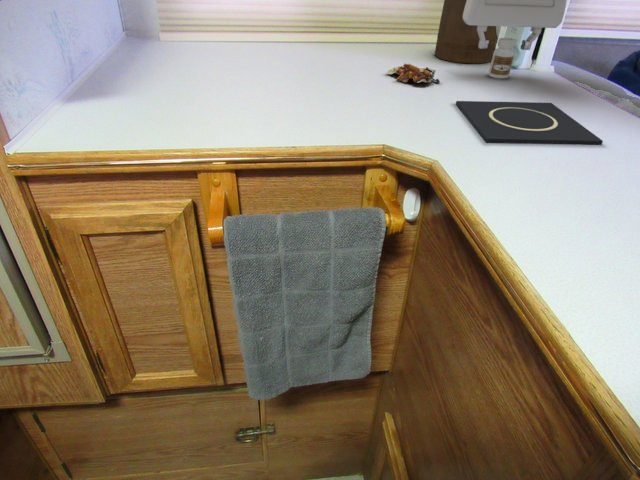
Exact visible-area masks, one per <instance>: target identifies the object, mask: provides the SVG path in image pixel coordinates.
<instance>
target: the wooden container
mask: <svg viewBox="0 0 640 480" xmlns="http://www.w3.org/2000/svg"><path fill="white" fill-rule="evenodd" d="M466 1H467V0H443V6H442V10H441V16H440V20H439V25H438V32H437V37H436V42H435V49H434V56H435V57H436V58H438V59H440V60H444V61H447V62H451V63H458V64H468V65H469V64H471V65H472V64H476V65H477V64H478V65H479V64H485V63H491V61H492V57H493V53H494V51H495V49H497V48H496V47H497V45H498V42H499V38H500V33H501V29H502V26H487V30H486V31H483V32H484V36H485V39H487V40H489V43H488V47H487V49H480V48H479V47H478V45H479V40H480V38H479V35H478V32H477V26H478V25H468V24H466V23H465V22H464V20H463V12H464V8H465V4H466Z"/></svg>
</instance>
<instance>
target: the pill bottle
mask: <svg viewBox="0 0 640 480" xmlns="http://www.w3.org/2000/svg"><path fill="white" fill-rule="evenodd" d="M516 41H517V40H516V38H511V37H499V38H498V41H497V48H496V49H495V51H494V53H493V57H492V60H491V61H490V66H489V69H488V76H489V77H491V78H494V79H507V78H509V76H510V73H511V69H512V65H513V62H514V59H515V56H516V54H515V53H516V52H515V50H514V48H515V45H516Z"/></svg>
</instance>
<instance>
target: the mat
mask: <svg viewBox="0 0 640 480" xmlns="http://www.w3.org/2000/svg"><path fill="white" fill-rule="evenodd" d="M455 105H456V106H457V107H458V109H459V110H460V111H461V112H462V114H463V116H465V118H466V119H467V120H468V122H469V123H470V124H471V125H472V126H473V128H474V129H475V130H476V132H477V133H478V134H479V135H480V136H481V138H482V139H483V140H484V142H485V143H494V144H495V143H503V144H551V145H552V144H553V145H554V144H557V145H558V144H559V145H602V144H603V140H602V139H601V138H600V137H598V136H597V135H596V134H594V133H593V132H592V131H590V130H589V129H588V128H586V127H585V126H584V125H582V124H581V123H580V122H578V121H577V120H575V119H574V118H573V117H571V115H569V114H567V113H566V112H564V111H563V110H562V109H560V107H558V106H557V105H555V104H553V103H552V102H538V101H537V102H534V101H533V102H530V101H529V102H527V101H486V100H485V101H482V100H481V101H479V100H478V101H477V100H456V101H455Z"/></svg>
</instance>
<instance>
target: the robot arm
mask: <svg viewBox="0 0 640 480" xmlns="http://www.w3.org/2000/svg"><path fill="white" fill-rule="evenodd" d="M567 2H568V0H467V1H466V4H465V8H464V12H463V20H464V22H465V23H466V24H468V25H478V26H477V32H478V35H479V38H480V40H479V45H478V47H479V48H480V49H487V47H488V43H489V40H487V39H485V36H484V32H483V31H486V30H487V26H501V27H512V28H530V32H531V33H530V35H528V37H527V38H526V39H522V41H521V45H520V49H521V50H522V51H530V50H531V49H532V45H533V42H534V41H535V40H536V39H537V38H538V37H539V36H540V35H541V33H542V30H543V28H544V29H557V28H558V27H559V26H560V25H561V24H562V22H563V19H564V15H565V11H566V7H567Z"/></svg>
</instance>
